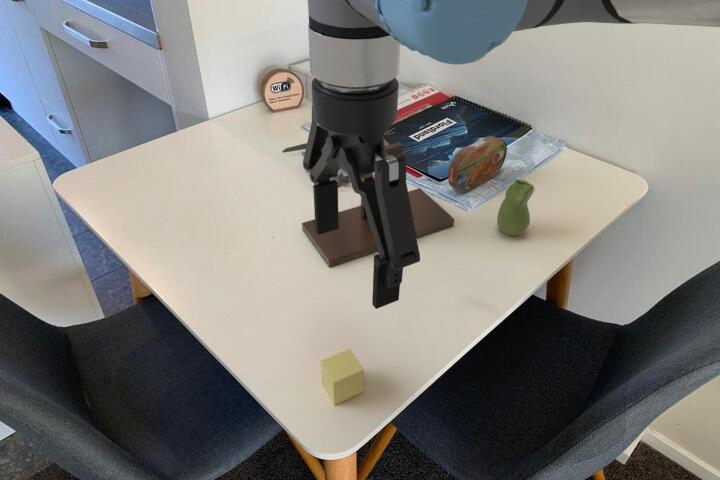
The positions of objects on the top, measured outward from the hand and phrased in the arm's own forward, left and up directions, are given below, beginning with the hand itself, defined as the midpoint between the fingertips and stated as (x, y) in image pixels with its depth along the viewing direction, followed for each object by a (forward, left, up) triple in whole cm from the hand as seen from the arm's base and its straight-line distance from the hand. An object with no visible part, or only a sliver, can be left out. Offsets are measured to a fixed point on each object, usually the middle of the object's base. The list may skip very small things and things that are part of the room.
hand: (354, 263), depth 58 cm
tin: (+50, -3, -17) cm, 52 cm away
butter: (-4, -1, -17) cm, 17 cm away
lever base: (+28, +8, -17) cm, 33 cm away
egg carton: (+40, +24, -17) cm, 49 cm away
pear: (+37, -13, -17) cm, 42 cm away
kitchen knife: (+47, +31, -17) cm, 59 cm away
